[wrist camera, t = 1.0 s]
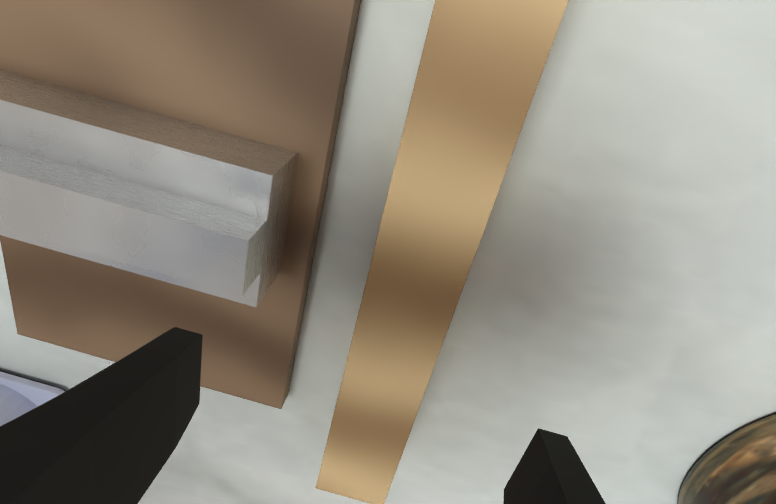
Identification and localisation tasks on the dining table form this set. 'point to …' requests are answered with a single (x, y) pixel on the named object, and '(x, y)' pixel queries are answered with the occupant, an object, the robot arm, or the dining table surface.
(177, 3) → the base board
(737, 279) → the dining table surface
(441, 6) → the oak beam
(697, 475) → the jar
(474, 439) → the dining table surface
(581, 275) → the dining table surface
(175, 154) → the grey piece
